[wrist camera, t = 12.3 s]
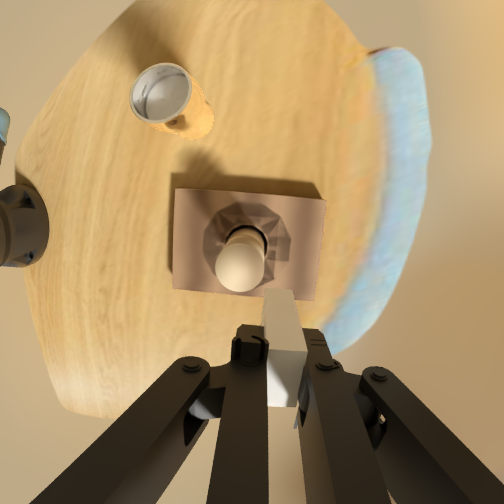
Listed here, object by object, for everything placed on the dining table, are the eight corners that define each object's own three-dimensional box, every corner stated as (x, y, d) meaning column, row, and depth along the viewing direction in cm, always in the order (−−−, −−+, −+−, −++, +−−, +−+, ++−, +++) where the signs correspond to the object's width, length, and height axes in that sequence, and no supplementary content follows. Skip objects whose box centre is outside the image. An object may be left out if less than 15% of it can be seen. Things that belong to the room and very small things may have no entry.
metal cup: (168, 143, 41) (124, 127, 27) (172, 97, 40) (131, 64, 25) (215, 143, 41) (191, 124, 26) (219, 96, 40) (197, 58, 25)
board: (178, 281, 46) (172, 288, 43) (181, 187, 43) (175, 188, 40) (310, 293, 45) (313, 301, 42) (322, 199, 42) (326, 200, 39)
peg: (229, 257, 44) (214, 290, 31) (231, 223, 43) (215, 243, 30) (263, 259, 44) (262, 293, 31) (265, 225, 43) (265, 246, 30)
